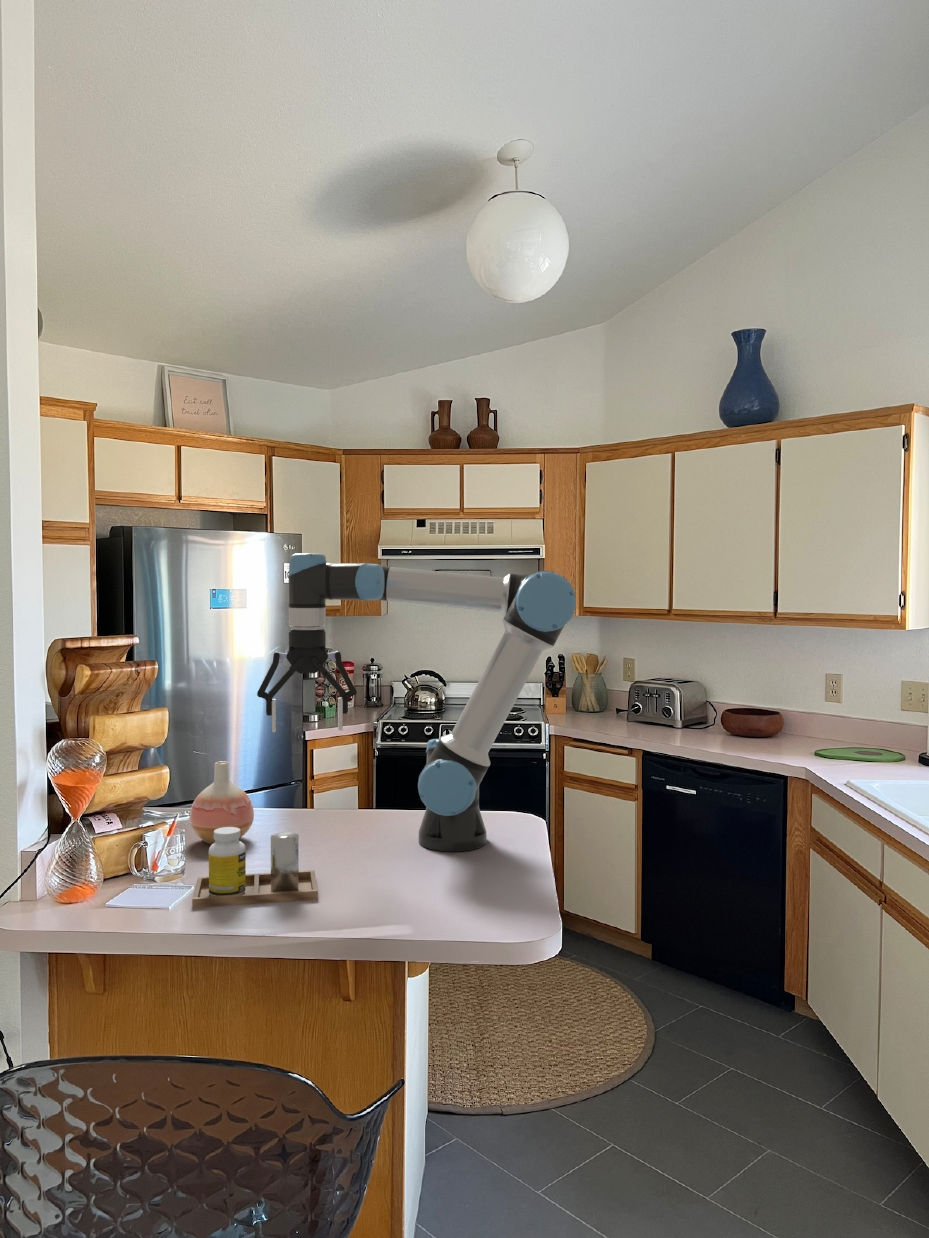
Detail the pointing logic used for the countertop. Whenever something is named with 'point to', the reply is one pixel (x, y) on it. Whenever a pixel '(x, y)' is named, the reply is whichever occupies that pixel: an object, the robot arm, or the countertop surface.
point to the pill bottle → (227, 863)
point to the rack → (256, 891)
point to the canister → (284, 862)
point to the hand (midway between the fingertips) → (307, 730)
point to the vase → (221, 806)
